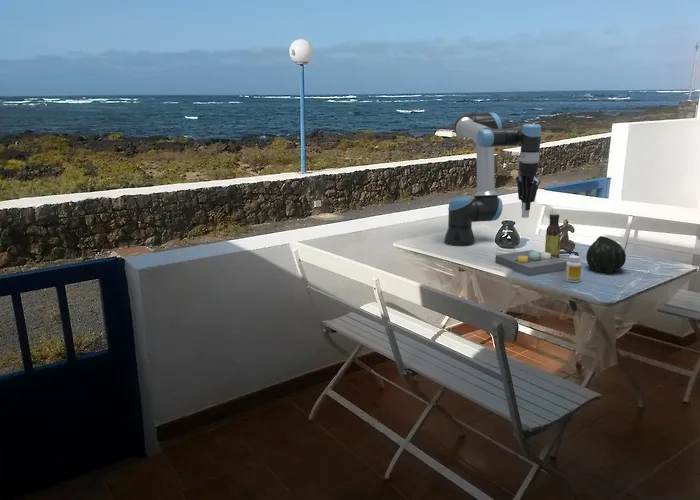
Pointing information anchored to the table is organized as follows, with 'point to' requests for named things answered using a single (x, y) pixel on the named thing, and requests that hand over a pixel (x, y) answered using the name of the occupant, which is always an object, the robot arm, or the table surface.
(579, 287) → the table surface
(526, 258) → the amber button
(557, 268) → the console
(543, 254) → the ivory button
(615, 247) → the squash
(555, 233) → the sauce bottle
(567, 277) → the supplement bottle
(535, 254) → the teal button
